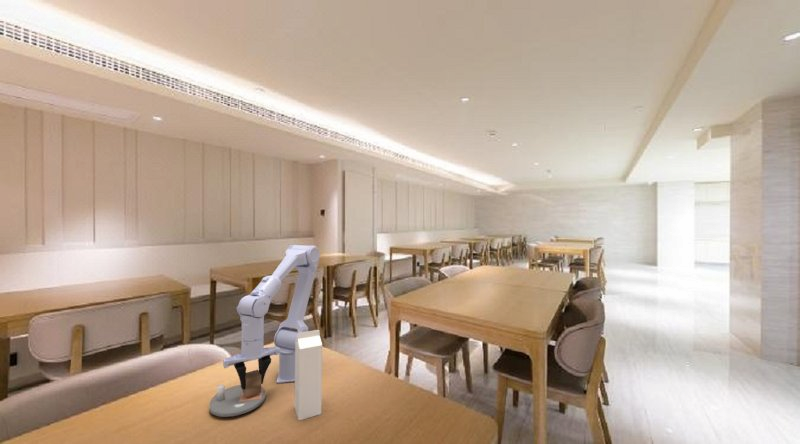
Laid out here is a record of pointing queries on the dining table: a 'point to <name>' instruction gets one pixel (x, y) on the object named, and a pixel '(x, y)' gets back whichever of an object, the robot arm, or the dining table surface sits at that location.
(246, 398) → the turntable
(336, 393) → the dining table surface
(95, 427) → the dining table surface
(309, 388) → the milk
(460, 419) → the dining table surface
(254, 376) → the walnut block
